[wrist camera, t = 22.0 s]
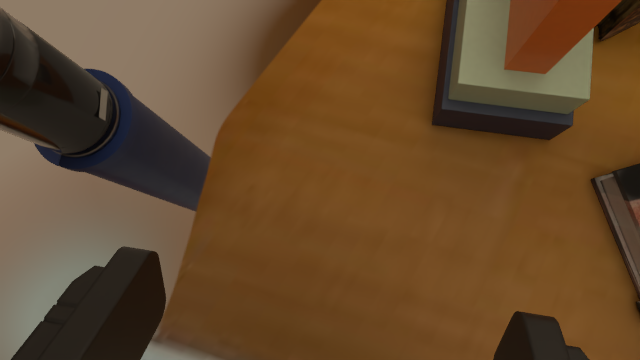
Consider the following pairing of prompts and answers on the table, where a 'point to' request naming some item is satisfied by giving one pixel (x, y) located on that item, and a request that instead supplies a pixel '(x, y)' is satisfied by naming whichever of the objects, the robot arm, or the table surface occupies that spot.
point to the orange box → (549, 30)
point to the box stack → (503, 77)
